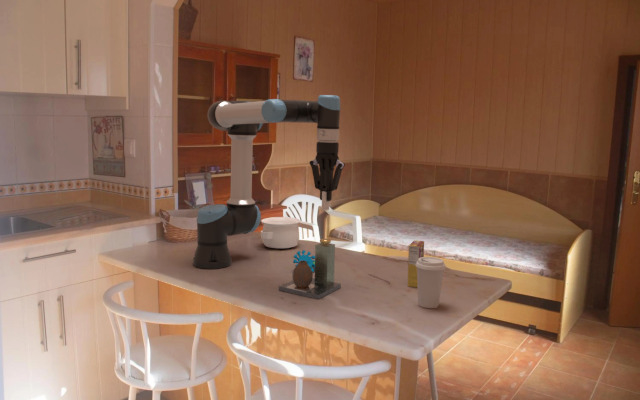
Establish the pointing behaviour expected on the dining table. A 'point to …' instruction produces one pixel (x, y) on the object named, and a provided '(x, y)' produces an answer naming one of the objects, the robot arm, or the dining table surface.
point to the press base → (318, 275)
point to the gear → (305, 259)
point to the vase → (302, 275)
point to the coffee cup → (429, 281)
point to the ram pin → (325, 242)
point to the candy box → (414, 261)
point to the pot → (280, 232)
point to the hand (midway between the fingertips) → (325, 209)
